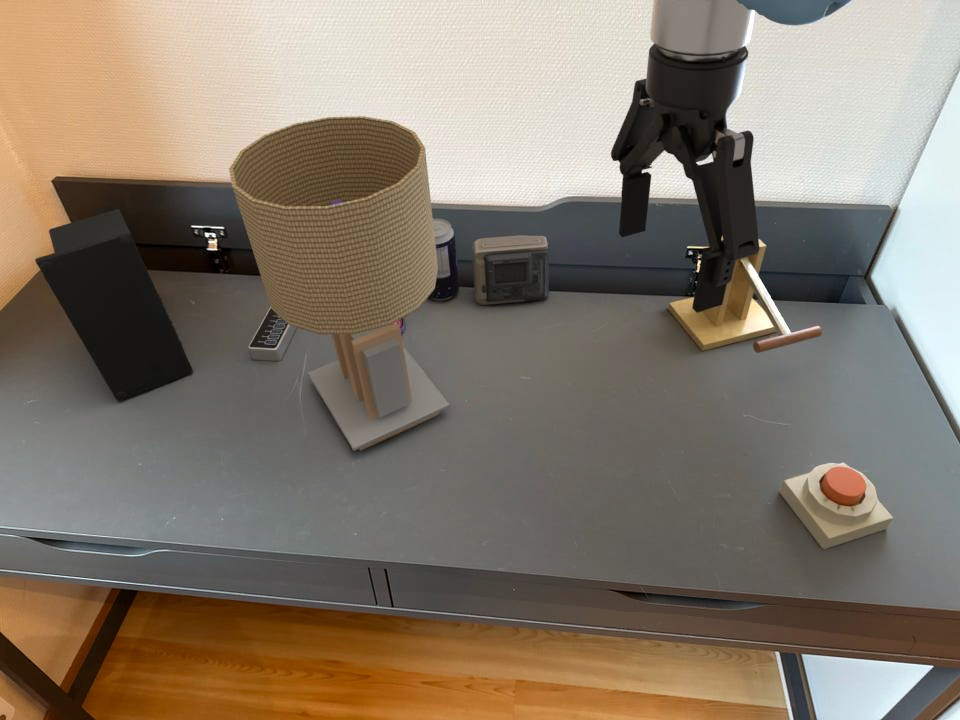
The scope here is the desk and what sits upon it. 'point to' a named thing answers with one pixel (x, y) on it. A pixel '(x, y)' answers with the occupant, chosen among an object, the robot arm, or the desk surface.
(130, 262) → the bookend
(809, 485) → the button box
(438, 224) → the beverage can
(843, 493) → the button
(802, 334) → the lever
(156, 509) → the desk surface
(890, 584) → the desk surface
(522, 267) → the camera
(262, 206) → the desk lamp
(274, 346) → the multiport hub
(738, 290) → the bracket
